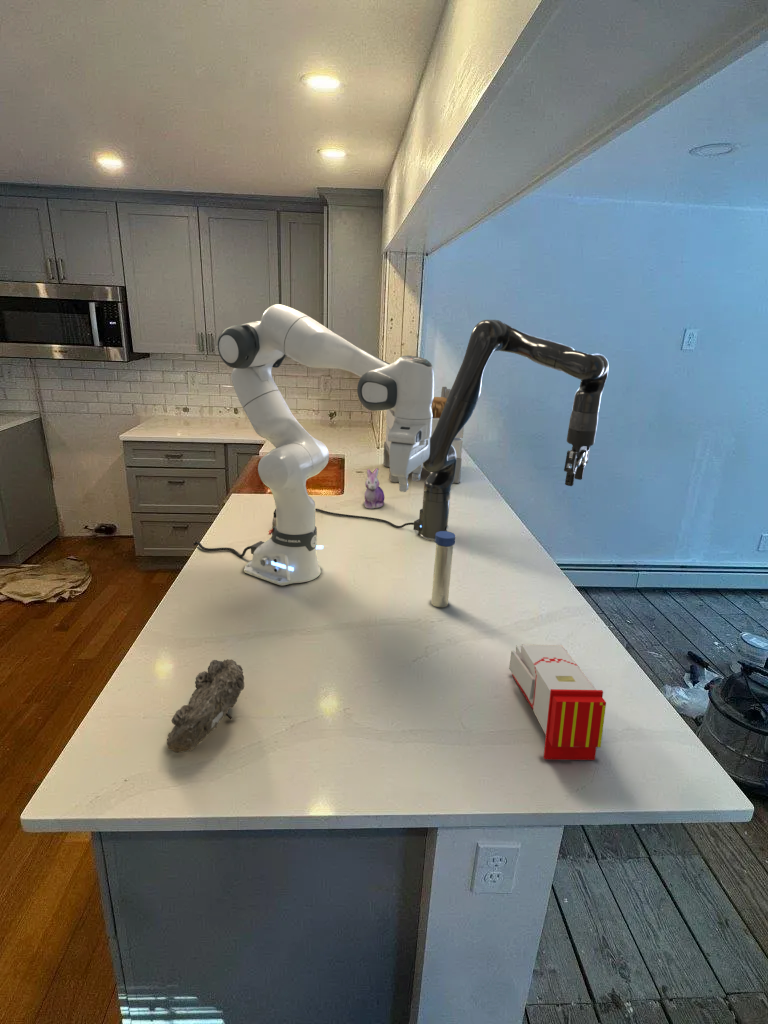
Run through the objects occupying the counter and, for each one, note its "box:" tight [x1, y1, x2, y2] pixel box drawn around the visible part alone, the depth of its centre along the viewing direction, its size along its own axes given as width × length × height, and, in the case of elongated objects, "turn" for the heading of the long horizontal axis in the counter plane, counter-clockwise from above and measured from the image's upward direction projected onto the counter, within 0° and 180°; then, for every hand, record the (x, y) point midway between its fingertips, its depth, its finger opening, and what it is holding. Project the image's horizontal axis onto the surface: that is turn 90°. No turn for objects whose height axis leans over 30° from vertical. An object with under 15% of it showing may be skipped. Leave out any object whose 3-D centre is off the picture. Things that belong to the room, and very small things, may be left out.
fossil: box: [166, 658, 245, 754], centre depth 106 cm, size 22×10×15 cm
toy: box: [508, 643, 607, 761], centre depth 112 cm, size 12×13×30 cm
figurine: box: [363, 467, 385, 509], centre depth 225 cm, size 9×10×15 cm
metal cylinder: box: [430, 543, 454, 608], centre depth 150 cm, size 4×4×20 cm
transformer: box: [383, 386, 465, 484], centre depth 268 cm, size 34×33×41 cm
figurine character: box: [271, 508, 276, 528], centre depth 200 cm, size 7×8×15 cm
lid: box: [434, 530, 456, 546], centre depth 147 cm, size 5×5×2 cm
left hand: (410, 485), depth 136 cm, fingers open, 8 cm apart
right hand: (573, 482), depth 165 cm, fingers open, 8 cm apart
